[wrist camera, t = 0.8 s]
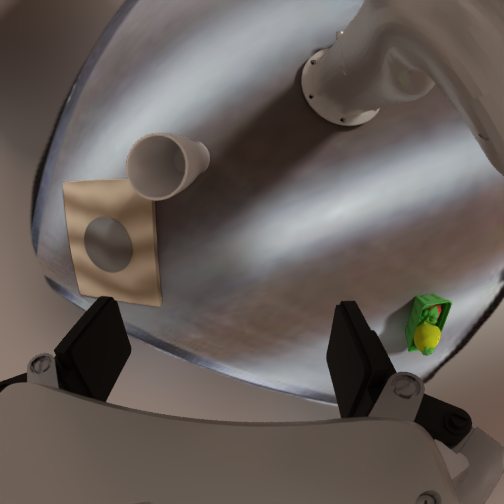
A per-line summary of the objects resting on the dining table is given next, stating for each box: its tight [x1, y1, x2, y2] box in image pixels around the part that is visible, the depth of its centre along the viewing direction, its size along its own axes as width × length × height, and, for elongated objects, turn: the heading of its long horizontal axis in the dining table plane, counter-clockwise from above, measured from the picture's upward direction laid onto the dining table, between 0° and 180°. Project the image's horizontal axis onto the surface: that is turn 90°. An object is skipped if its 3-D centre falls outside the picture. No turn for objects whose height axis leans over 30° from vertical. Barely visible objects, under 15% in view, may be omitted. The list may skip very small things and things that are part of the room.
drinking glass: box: [126, 133, 210, 201], centre depth 30 cm, size 7×7×15 cm
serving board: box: [63, 179, 162, 307], centre depth 42 cm, size 22×18×2 cm
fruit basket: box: [405, 294, 452, 355], centre depth 41 cm, size 11×9×11 cm
